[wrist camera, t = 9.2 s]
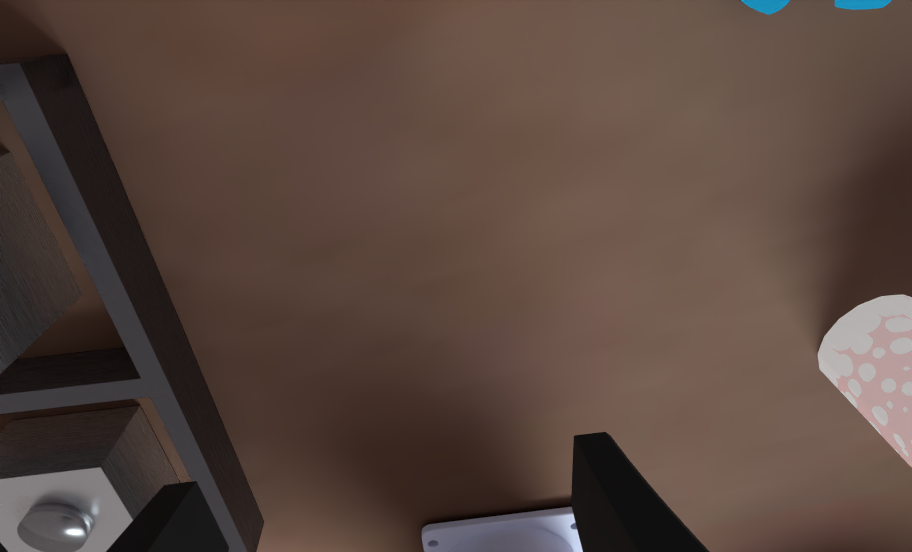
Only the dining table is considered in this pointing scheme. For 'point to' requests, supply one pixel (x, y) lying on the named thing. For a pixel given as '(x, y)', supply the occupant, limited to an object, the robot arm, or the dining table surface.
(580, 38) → the dining table surface
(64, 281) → the grey square block
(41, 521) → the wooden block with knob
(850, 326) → the beverage cup
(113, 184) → the grey flat rectangular frame
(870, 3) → the gear
